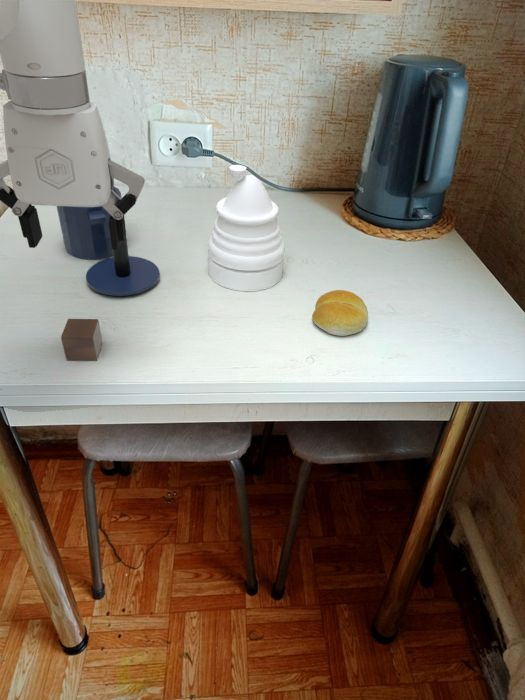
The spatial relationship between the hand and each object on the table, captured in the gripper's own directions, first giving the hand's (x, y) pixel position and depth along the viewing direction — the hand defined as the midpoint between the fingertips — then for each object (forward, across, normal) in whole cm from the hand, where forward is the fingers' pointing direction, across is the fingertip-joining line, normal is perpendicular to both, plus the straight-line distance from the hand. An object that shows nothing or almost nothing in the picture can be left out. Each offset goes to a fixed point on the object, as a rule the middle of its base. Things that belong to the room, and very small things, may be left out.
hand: (77, 243), depth 62 cm
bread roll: (+15, +36, +6) cm, 39 cm away
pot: (+15, -5, +27) cm, 31 cm away
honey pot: (+15, +22, +20) cm, 33 cm away
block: (+15, -1, -3) cm, 15 cm away
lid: (+14, +2, +16) cm, 21 cm away
